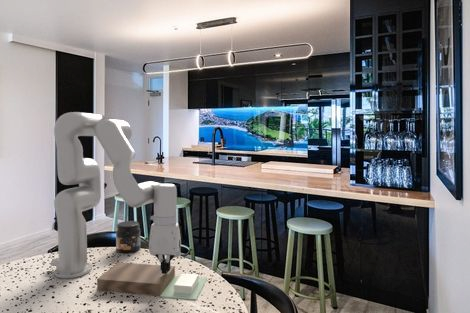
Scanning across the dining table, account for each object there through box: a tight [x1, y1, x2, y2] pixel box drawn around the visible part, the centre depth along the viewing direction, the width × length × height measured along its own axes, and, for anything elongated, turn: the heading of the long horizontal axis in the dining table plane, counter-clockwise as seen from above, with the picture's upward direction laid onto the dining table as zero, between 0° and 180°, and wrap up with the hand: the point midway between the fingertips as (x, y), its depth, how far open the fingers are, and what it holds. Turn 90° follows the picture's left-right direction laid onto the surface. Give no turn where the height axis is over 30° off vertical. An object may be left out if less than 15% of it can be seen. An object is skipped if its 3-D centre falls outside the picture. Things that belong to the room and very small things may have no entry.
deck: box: [96, 261, 176, 297], centre depth 110 cm, size 22×14×4 cm, turn 82°
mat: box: [159, 275, 208, 301], centre depth 108 cm, size 12×15×1 cm
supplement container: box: [115, 220, 142, 254], centre depth 142 cm, size 10×10×12 cm
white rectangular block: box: [174, 272, 200, 294], centre depth 108 cm, size 6×9×2 cm, turn 172°
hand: (165, 272), depth 109 cm, fingers closed
